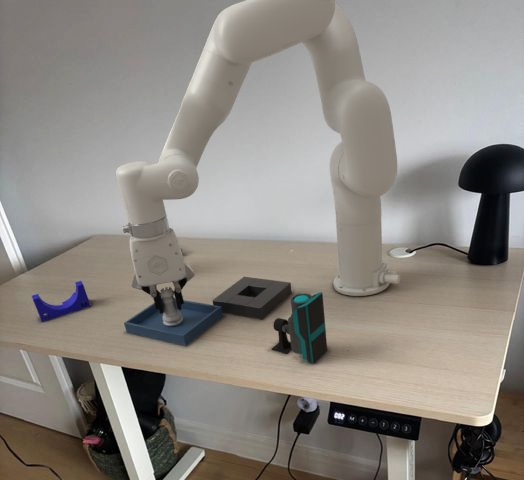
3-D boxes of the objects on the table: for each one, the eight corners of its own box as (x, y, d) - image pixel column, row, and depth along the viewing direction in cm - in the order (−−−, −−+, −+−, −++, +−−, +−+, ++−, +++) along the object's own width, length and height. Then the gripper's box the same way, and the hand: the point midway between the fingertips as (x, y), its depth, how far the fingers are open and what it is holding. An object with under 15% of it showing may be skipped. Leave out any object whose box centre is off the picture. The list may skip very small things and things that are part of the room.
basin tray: (223, 316, 115) (221, 306, 114) (186, 346, 106) (183, 335, 105) (165, 305, 124) (163, 296, 123) (126, 332, 115) (123, 322, 114)
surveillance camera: (277, 283, 97) (323, 291, 91) (285, 338, 103) (328, 349, 98) (259, 296, 93) (306, 305, 88) (268, 352, 100) (312, 364, 94)
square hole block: (292, 293, 120) (290, 282, 119) (262, 319, 111) (260, 308, 110) (245, 286, 127) (244, 276, 125) (214, 311, 118) (212, 300, 117)
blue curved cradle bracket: (87, 300, 134) (80, 278, 131) (90, 306, 130) (83, 284, 127) (39, 315, 130) (31, 293, 127) (42, 321, 126) (32, 299, 123)
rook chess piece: (181, 326, 113) (174, 293, 109) (161, 328, 113) (153, 294, 109) (184, 316, 117) (178, 284, 112) (165, 318, 117) (158, 285, 113)
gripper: (106, 241, 100) (132, 324, 110) (191, 225, 101) (209, 309, 110) (110, 229, 107) (134, 308, 116) (190, 214, 107) (207, 295, 117)
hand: (171, 308), depth 113 cm, fingers closed on rook chess piece, 3 cm apart
